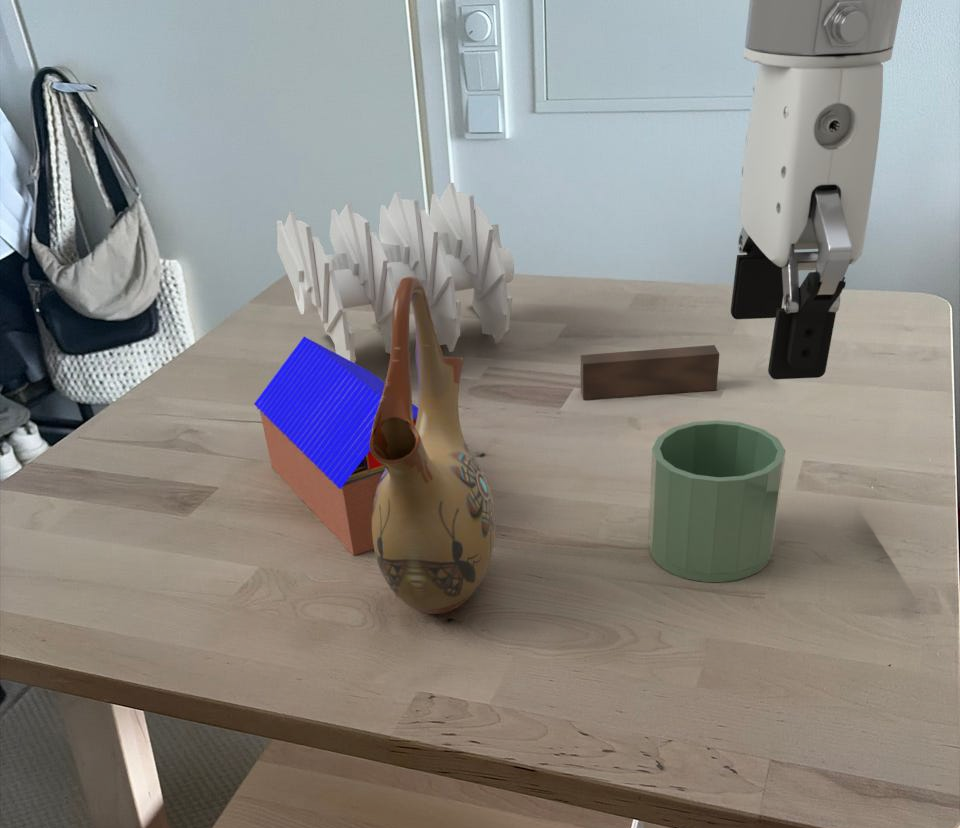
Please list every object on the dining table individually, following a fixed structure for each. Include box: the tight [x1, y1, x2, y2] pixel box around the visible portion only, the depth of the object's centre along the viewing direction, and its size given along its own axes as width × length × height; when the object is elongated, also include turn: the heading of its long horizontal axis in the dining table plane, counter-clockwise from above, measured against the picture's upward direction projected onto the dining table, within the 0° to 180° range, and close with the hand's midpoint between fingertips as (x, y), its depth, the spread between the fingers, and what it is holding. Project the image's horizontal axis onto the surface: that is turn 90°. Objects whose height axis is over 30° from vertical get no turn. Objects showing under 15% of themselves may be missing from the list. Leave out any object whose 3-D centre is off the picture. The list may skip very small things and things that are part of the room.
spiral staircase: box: [276, 182, 515, 364], centre depth 115 cm, size 18×18×25 cm
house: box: [253, 336, 469, 556], centre depth 92 cm, size 12×20×12 cm, turn 30°
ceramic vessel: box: [369, 277, 496, 615], centre depth 74 cm, size 16×9×25 cm, turn 169°
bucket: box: [648, 419, 786, 583], centre depth 81 cm, size 10×10×9 cm
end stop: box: [580, 344, 720, 401], centre depth 107 cm, size 14×2×4 cm, turn 92°
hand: (774, 345), depth 64 cm, fingers open, 9 cm apart
